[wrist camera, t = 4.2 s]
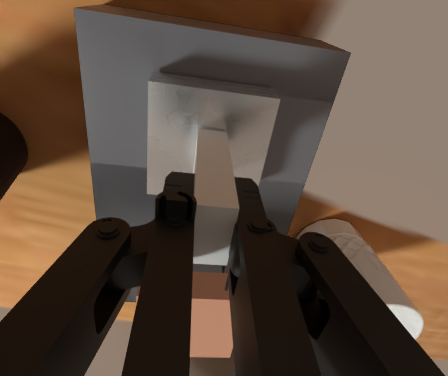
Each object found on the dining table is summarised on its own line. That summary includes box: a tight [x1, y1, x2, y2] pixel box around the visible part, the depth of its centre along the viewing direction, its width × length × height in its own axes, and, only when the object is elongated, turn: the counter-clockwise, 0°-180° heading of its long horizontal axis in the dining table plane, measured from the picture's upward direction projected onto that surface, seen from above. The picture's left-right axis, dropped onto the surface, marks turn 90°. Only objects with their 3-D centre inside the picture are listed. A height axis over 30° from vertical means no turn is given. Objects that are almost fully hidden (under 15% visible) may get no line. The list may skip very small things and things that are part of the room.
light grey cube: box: [147, 72, 281, 195], centre depth 18 cm, size 6×6×6 cm
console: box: [74, 4, 351, 302], centre depth 23 cm, size 22×14×5 cm, turn 171°
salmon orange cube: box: [136, 264, 233, 358], centre depth 21 cm, size 6×6×6 cm
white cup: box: [295, 219, 424, 340], centre depth 26 cm, size 8×8×10 cm
